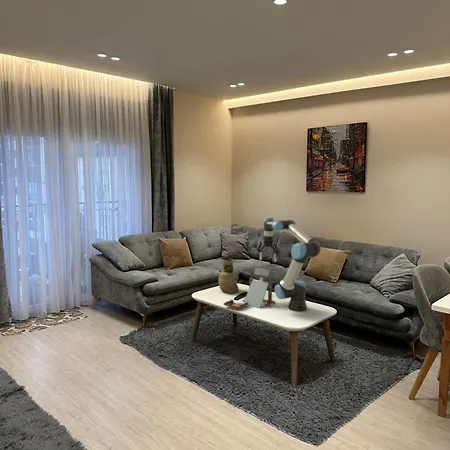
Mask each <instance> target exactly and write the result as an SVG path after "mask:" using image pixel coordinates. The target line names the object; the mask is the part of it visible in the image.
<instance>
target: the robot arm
mask: <svg viewBox="0 0 450 450" xmlns="http://www.w3.org/2000/svg"><path fill="white" fill-rule="evenodd" d="M263 220H264V221H263V240H260V243H259V245H258V247H257V249H256V252H257V253H258V256H259V260H260V261H262V260H263V252H262V251H263V250H264V249H265V248H267V247H268V248H271V250H272V251H273V252H274V259H273V260H274V263H275V262H277V261H278V259H277V258H278V256H279V255H278V254H280V253H281V251H280V250H279V246H278V243H277V241H274V236H273V235H274V231H282V230H283V231H284V230H286V231H288V232H289V233H290V235H292V236H294V237H295V239H297V240H298V241H299V242H298V243H294V245H293V246H292V247H291V250H290V251H291V252H290V253H291V257H292V260H291V263H290V264H289V266H288V269H287V271H286V273H285V276H284V277H283V279H281V280H280V282H279V284H276V285H275V286H274V293H275V296H276V298H278V299H279V300H286V299H290V300H289V301H288V306H287V307H288V308H287V309H289V310H290V311H293V312H305V311H307V309H308V305H307V302H306V282H304V281H303V280H298V279H297V278H298V276H299V274H300V271H301V270H302V268H303V265H304V264H306V263H307V262H308V260H309V259H310V258H316V257H318V256H319V255H320V253H321V249H322V248H321V247H322V246H321V244H320V243H319V241H317V240H316V239H315V238H314V237H313V238H312V237H311V236H310V235H309V234H307V233H306V232H305V231H303V230H302V229H301V228H299V226H297V224H296V221H295V220H293V219H286V220H274V218H273V217H270V216H269V217H266V216H265V218H264V219H263Z"/></svg>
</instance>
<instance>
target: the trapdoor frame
mask: <svg viewBox="0 0 450 450" xmlns="http://www.w3.org/2000/svg"><path fill="white" fill-rule="evenodd" d="M252 279H254V277H249V280H248V281H249V282H248V286H249V288H250V285H251V282H252ZM267 282H268V288H267V299H266V298H264V299H263V302H262V303H264V306H265V307H269V306H271V305H273V304H275V303H276V302H275V300H273V281H271V280H270V281H267ZM249 288H248V289H249Z"/></svg>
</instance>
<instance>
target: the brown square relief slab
mask: <svg viewBox="0 0 450 450" xmlns="http://www.w3.org/2000/svg"><path fill="white" fill-rule="evenodd" d="M222 305H224V306H226V307H229V308H230V309H232V310H236V311H239V310H242V309H243V308H245V307H248V306H249V305H248V302H247V303H244V302H243V303H242V302H235V301H234V300H233V299H232V298H231V299H230V300H228V301H225V302H224V303H223V304H222Z"/></svg>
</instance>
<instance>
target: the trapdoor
mask: <svg viewBox="0 0 450 450" xmlns="http://www.w3.org/2000/svg"><path fill="white" fill-rule="evenodd" d="M253 275H254V276H255V277H256V278H257V279H254V278H253V279H252V282H251V285H250V288H248V291H247V294H246V295H245V298H244V301H243V304H244V303H247V302H248V306H250V307H254V308H259V309H261V307H262V304H263V303H264V302H263V299H265V295H266V294H267V292H268V282H269V281H264V279H265V280H270V281H271V280H272V277H273V275H274V272H273V271H272V270H271V269H265V268H260V267H255V269H254V272H253ZM258 279H259V280H258Z"/></svg>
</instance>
